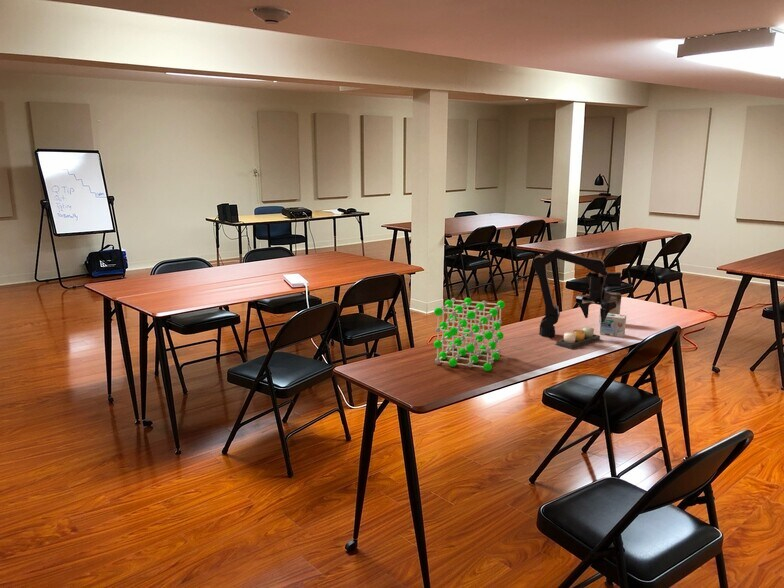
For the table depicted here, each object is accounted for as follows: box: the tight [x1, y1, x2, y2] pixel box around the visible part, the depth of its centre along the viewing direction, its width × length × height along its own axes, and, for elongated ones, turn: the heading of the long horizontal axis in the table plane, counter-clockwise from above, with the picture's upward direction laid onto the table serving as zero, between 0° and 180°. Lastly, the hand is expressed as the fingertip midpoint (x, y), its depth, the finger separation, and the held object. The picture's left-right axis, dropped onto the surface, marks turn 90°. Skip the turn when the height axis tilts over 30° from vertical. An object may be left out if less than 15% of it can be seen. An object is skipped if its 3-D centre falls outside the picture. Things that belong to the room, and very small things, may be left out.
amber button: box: [572, 329, 585, 341], centre depth 271 cm, size 5×5×4 cm
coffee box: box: [598, 291, 622, 325], centre depth 306 cm, size 9×6×16 cm
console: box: [553, 333, 602, 351], centre depth 272 cm, size 10×23×3 cm, turn 129°
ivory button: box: [563, 332, 576, 344], centre depth 267 cm, size 5×5×4 cm
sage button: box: [581, 326, 595, 338], centre depth 275 cm, size 5×5×4 cm
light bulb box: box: [599, 313, 627, 338], centre depth 284 cm, size 11×7×11 cm, turn 62°
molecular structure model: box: [433, 297, 506, 372], centre depth 251 cm, size 24×25×24 cm
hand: (594, 320), depth 274 cm, fingers open, 9 cm apart
